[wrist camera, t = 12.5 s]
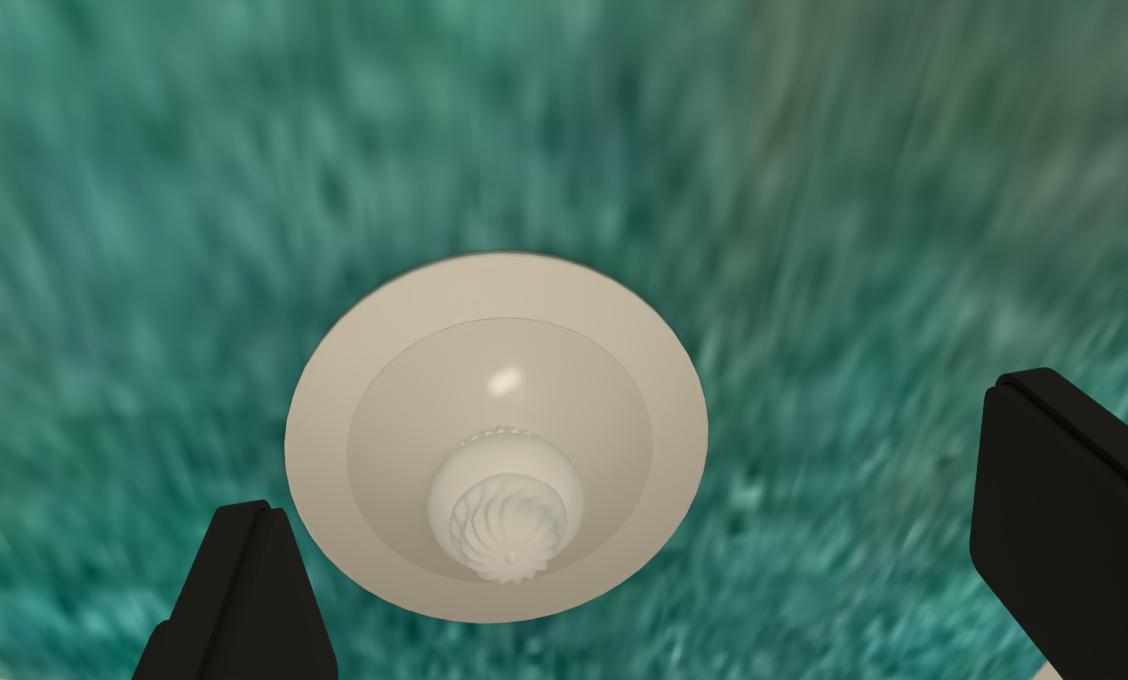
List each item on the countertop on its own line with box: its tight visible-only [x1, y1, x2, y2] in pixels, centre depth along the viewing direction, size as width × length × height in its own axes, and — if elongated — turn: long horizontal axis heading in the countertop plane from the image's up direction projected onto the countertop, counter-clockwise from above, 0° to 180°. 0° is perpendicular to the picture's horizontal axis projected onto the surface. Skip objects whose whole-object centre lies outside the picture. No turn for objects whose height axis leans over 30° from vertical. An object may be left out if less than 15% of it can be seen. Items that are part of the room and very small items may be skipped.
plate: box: [284, 249, 708, 623], centre depth 37 cm, size 18×18×1 cm
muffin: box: [427, 425, 585, 585], centre depth 33 cm, size 6×6×7 cm
